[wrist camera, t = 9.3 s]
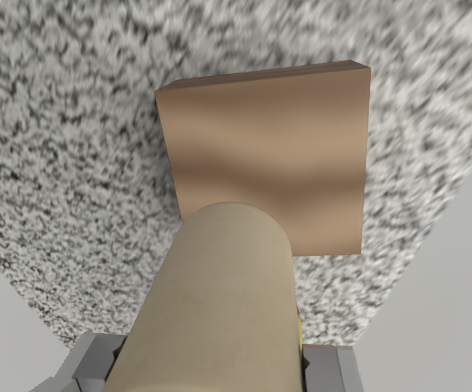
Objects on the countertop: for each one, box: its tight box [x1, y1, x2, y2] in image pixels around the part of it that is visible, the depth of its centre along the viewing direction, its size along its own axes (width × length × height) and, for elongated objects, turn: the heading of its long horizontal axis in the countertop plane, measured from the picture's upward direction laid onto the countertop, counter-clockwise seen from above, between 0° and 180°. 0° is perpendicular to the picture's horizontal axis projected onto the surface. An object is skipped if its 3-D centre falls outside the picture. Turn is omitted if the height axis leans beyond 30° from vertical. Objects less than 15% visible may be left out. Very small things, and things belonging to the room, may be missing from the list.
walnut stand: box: [154, 60, 371, 257], centre depth 27 cm, size 14×14×6 cm
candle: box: [102, 202, 304, 392], centre depth 11 cm, size 6×6×10 cm
